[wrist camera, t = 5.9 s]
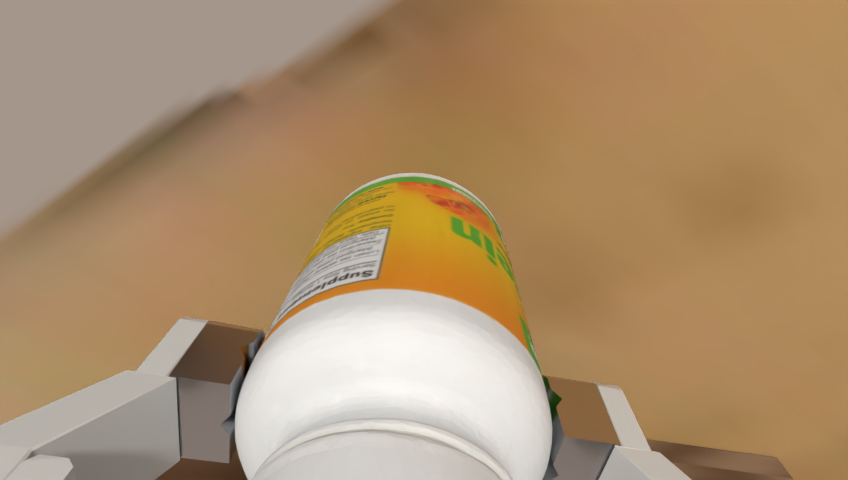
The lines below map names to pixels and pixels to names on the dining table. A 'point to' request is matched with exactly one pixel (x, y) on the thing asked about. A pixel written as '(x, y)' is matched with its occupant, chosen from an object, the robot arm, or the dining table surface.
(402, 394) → the supplement bottle
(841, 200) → the dining table surface
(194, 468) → the box
